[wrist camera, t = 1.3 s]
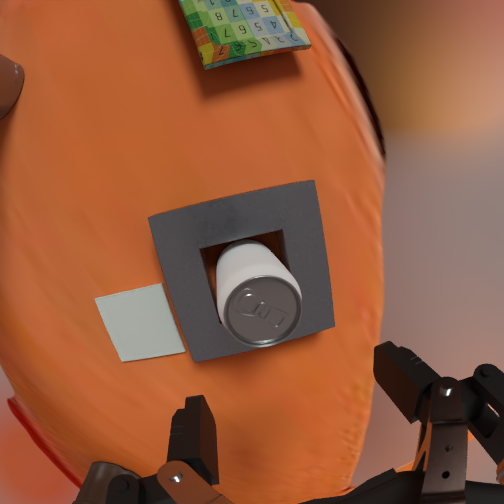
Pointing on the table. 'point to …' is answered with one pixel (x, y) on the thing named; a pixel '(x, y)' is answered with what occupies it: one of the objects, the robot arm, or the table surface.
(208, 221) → the hollow block
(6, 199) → the table surface
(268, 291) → the can
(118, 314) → the mat
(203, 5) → the puzzle game
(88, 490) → the plant pot
